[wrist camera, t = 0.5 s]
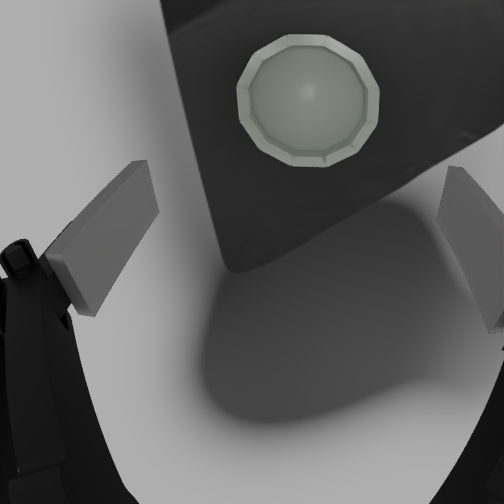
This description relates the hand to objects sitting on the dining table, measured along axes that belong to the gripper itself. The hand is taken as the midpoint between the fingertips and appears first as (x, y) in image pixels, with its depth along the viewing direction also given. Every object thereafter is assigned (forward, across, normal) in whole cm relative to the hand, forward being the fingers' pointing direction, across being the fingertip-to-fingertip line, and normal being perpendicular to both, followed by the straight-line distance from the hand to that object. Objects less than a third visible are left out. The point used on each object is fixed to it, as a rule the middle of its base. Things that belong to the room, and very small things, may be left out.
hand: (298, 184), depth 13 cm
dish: (+24, +1, -1) cm, 24 cm away
